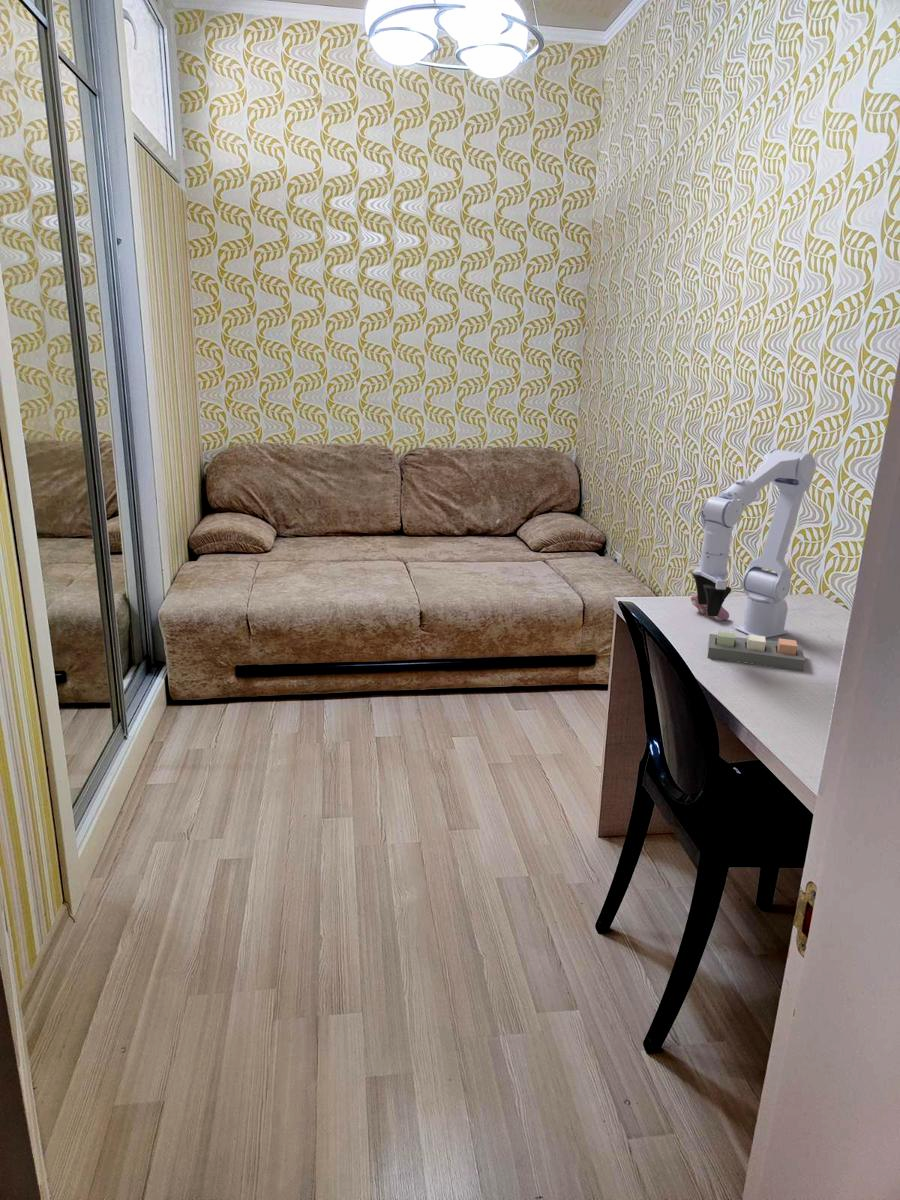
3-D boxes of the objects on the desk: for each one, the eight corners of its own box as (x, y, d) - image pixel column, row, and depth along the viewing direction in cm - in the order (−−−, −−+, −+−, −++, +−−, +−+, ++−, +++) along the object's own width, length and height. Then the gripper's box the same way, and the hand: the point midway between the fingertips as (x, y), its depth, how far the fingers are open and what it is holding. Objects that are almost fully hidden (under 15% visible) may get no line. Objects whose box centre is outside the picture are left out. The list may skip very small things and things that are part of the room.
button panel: (799, 655, 182) (801, 645, 181) (803, 670, 174) (805, 660, 173) (708, 643, 188) (709, 633, 187) (707, 657, 179) (708, 647, 179)
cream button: (763, 648, 181) (765, 636, 180) (763, 654, 178) (765, 642, 177) (746, 646, 182) (748, 634, 181) (746, 652, 179) (748, 640, 178)
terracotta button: (793, 652, 179) (796, 640, 178) (795, 658, 176) (797, 646, 175) (776, 650, 180) (778, 638, 179) (777, 656, 177) (779, 644, 176)
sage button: (733, 644, 183) (734, 632, 182) (733, 650, 180) (734, 638, 179) (716, 642, 184) (718, 630, 183) (716, 648, 181) (718, 636, 180)
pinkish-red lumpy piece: (692, 615, 210) (685, 594, 207) (705, 606, 211) (699, 585, 208) (718, 628, 202) (711, 606, 199) (731, 618, 203) (725, 596, 200)
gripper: (688, 542, 182) (682, 598, 187) (705, 560, 168) (698, 620, 173) (719, 543, 182) (712, 599, 186) (739, 561, 168) (730, 621, 173)
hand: (707, 609), depth 180 cm, fingers open, 7 cm apart
